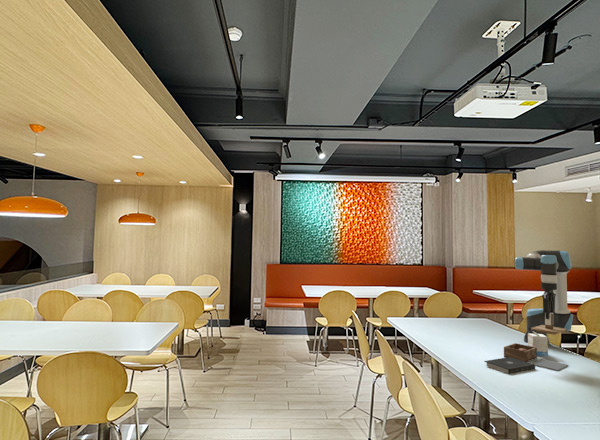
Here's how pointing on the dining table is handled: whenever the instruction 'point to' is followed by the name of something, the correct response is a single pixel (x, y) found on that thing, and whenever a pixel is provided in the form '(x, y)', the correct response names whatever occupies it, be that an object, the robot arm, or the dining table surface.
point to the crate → (520, 352)
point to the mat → (550, 364)
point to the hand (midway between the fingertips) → (549, 324)
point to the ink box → (538, 343)
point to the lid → (549, 328)
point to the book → (510, 365)
